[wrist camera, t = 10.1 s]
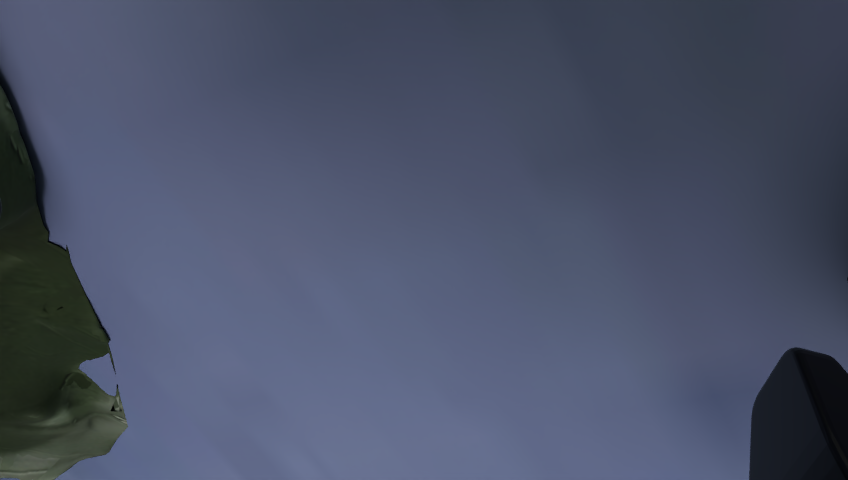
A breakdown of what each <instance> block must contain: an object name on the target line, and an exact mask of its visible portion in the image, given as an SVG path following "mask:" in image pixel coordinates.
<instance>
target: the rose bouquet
mask: <svg viewBox="0 0 848 480" xmlns="http://www.w3.org/2000/svg"><path fill="white" fill-rule="evenodd" d="M0 199H1V204H2V213H1V218H0V478H19V479H20V480H54V479H55V478H57V477H58V476H59V475H61V474H62V473H64V472H65V471H67V470H68V469H70V468H71V467H72V466H73V465H74V464H76V463H77V462H79V461H81V460H84V459H86V458H91V457H96V456H101V455H105V454H107V453H108V452H109V451H110V450H111V448H112V446H113V445H114V443H115V441H116V440H117V438H118V437H119V436H120V435H121V434H122V433H123V432H124V431H125V429H126V428H127V427H128V425H127V421H126V418H125V414H124V410H123V406H122V402H121V399H120V395H119V391H118V385H117V392H116V396H115V397H114V396H111V395H108V394H107V393H105V391H103V390H102V389H101V388H100V387H99V386H98V385H97V384H96V383H95V382H93V381H92V379H90V378H89V377H88V376H87V375H86V374H85V373H83V372H82V371H81V370H80V369H78V368H79V366H80V364H81V363H82V362H84V361H86V360H92V359H95V358H100V357H103V356H104V355H106V354H107V353H109V354H110V358H111V361H112V364H113V359H112V355H111V351H110V348H109V345H108V342H109V339H108V337H107V335H106V334H105V332H104V331H103V329H102V327H101V325H100V323H99V321H98V319H97V317H96V315H95V313H94V311H93V309H92V307H91V305H90V303H89V301H88V299H87V297H86V295H85V293H84V291H83V288H82V286H81V284H80V282H79V280H78V277H77V275H76V273H75V271H74V269H73V267H72V264H71V261H70V256H69V251H68V247H67V245H66V251H65V250H63V249H62V248H60V247H58V246H56V245H53V244H51V243H48V242H47V241H48V234H49V233H48V231H47V230H46V228H45V227H44V226H43V223H42V219H41V216H40V212H39V209H38V205H37V202H36V189H35V176H34V171H33V168H32V166H31V163H30V160H29V156H28V153H27V150H26V147H25V144H24V142H23V140H22V137H21V135H20V132H19V128H18V124H17V121H16V118H15V115H14V113H13V111H12V108H11V106H10V103H9V101H8V99H7V96H6V94H5V92H4V91H3V89H2V87H1V85H0ZM113 368H114V364H113ZM114 371H115V368H114ZM115 374H116V373H115Z"/></svg>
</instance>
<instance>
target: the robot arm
mask: <svg viewBox="0 0 848 480" xmlns="http://www.w3.org/2000/svg"><path fill="white" fill-rule="evenodd" d="M1 213H2V204H1V199H0V218H1ZM847 281H848V278H847ZM749 480H848V373H847V372H846V371H845V370H844V369H843V368H842V366H841V365H840V364H839V363H838V362H837V361H836V360H835V359H834V358H833V357H831V356H829V355H826V354H822V353H818V352H814V351H810V350H806V349H802V348H791V349H789V350H787V351H786V352H785V353H784V354H783V356H782V357H781V359H780V360H779V362H778V363H777V365H776V366H775V368H774V370H773V371H772V373H771V374H770V376H769V378H768V379H767V381H766V382H765V384H764V385H763V387H762V389H761V390H760V392H759V393H758V395H757V397H756V400H755V402H754V406H753V410H752V418H751V444H750V471H749Z"/></svg>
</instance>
